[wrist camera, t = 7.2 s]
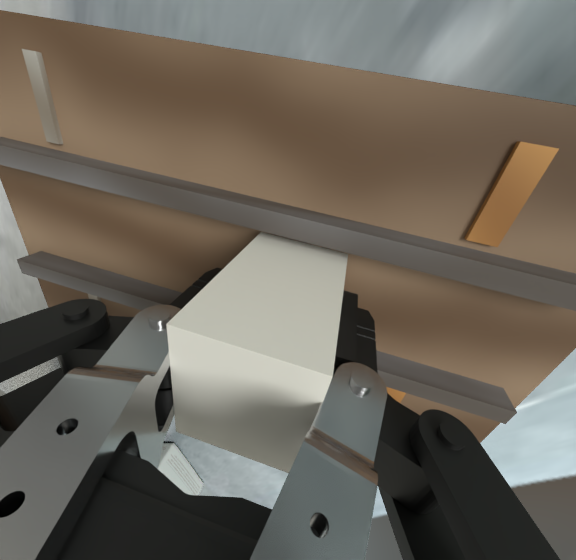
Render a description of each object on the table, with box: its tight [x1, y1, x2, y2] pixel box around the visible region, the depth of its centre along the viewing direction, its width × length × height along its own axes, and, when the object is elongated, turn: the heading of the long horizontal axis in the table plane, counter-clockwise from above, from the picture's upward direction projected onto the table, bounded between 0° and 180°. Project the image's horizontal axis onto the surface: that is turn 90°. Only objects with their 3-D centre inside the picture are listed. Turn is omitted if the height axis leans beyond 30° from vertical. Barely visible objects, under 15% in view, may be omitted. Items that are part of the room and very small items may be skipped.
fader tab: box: [166, 232, 348, 473], centre depth 9 cm, size 4×4×6 cm
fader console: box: [0, 10, 576, 443], centre depth 12 cm, size 15×26×3 cm, turn 80°
